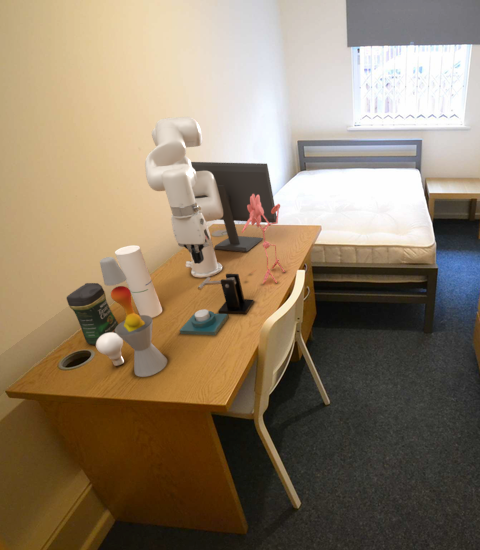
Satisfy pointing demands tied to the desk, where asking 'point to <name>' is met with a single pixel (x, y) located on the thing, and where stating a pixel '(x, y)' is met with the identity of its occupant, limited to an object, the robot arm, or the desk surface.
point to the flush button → (202, 315)
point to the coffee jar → (92, 311)
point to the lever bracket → (234, 297)
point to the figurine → (255, 217)
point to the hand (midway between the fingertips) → (199, 261)
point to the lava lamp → (133, 323)
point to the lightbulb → (111, 347)
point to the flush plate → (204, 325)
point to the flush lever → (213, 282)
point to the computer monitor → (240, 198)
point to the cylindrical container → (139, 280)
